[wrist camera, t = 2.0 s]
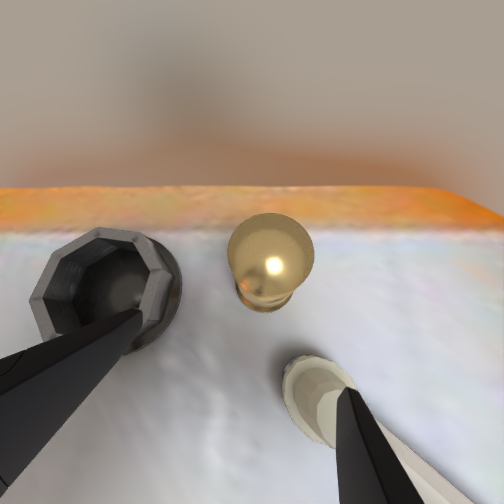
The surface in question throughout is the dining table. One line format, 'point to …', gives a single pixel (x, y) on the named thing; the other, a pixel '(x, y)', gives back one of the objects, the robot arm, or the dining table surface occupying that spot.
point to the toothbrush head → (324, 422)
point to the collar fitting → (107, 284)
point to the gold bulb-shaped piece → (269, 260)
